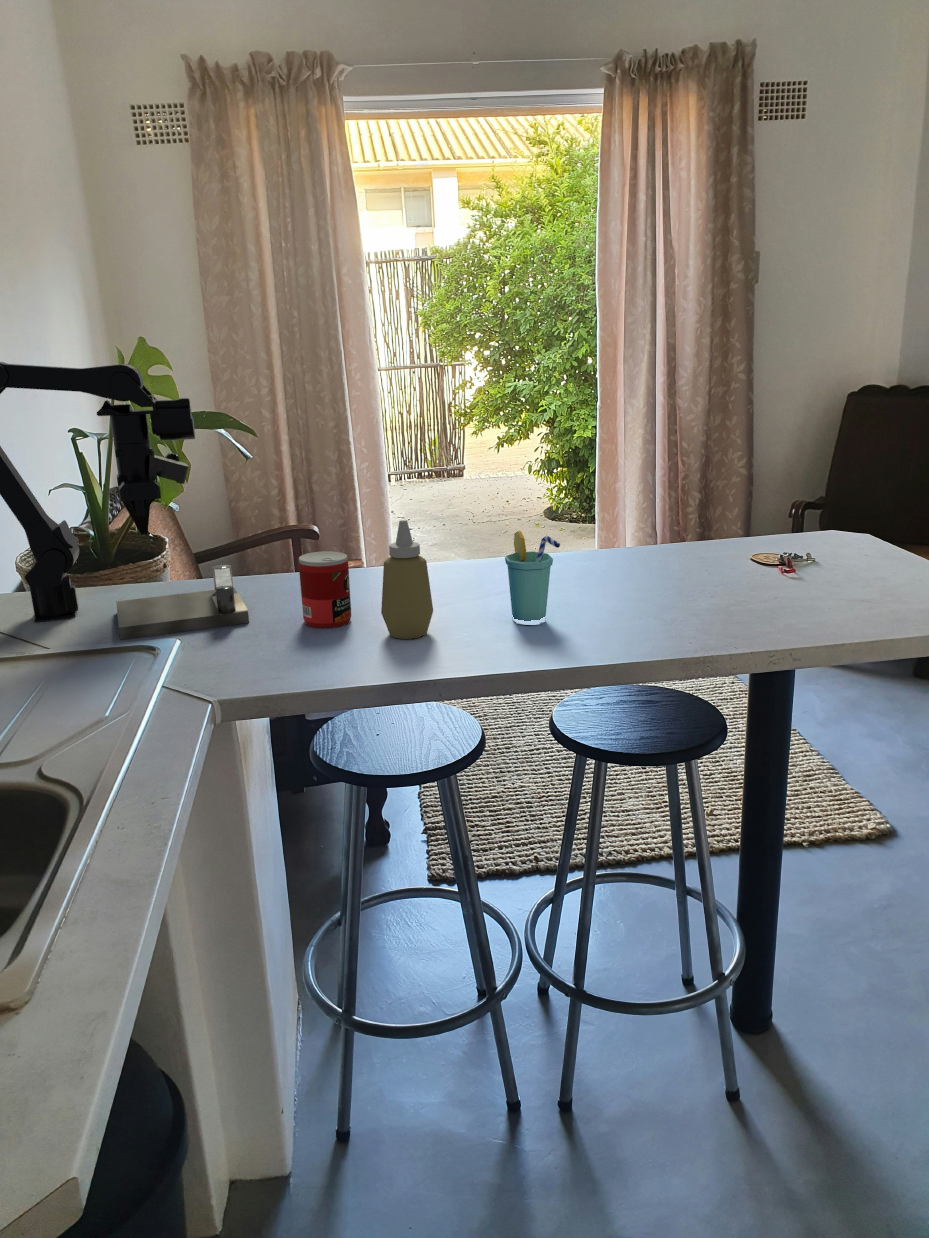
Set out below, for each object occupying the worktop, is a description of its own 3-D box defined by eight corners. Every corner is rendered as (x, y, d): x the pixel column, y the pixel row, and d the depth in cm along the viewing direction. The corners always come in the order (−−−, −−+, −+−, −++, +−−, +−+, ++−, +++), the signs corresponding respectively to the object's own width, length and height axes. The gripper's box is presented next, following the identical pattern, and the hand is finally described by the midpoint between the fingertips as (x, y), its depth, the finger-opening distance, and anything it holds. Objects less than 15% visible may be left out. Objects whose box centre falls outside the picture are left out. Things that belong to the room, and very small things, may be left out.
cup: (577, 629, 140) (579, 535, 135) (536, 638, 136) (537, 542, 132) (527, 607, 151) (527, 520, 147) (488, 615, 148) (487, 526, 143)
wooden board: (120, 639, 140) (118, 626, 139) (117, 612, 154) (116, 600, 154) (249, 622, 147) (247, 609, 146) (235, 598, 161) (234, 586, 161)
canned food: (343, 629, 142) (338, 563, 139) (296, 627, 144) (290, 561, 141) (358, 615, 150) (354, 551, 146) (313, 613, 151) (308, 550, 148)
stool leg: (214, 587, 159) (212, 565, 158) (233, 585, 160) (230, 564, 159) (216, 615, 143) (214, 591, 142) (237, 612, 144) (234, 589, 143)
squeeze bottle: (441, 628, 142) (437, 516, 136) (422, 644, 135) (418, 527, 129) (394, 624, 144) (389, 514, 139) (374, 640, 137) (367, 525, 132)
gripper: (187, 444, 143) (198, 540, 148) (177, 434, 160) (187, 520, 164) (113, 449, 139) (127, 547, 144) (111, 438, 156) (123, 526, 161)
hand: (144, 534), depth 153 cm, fingers closed
